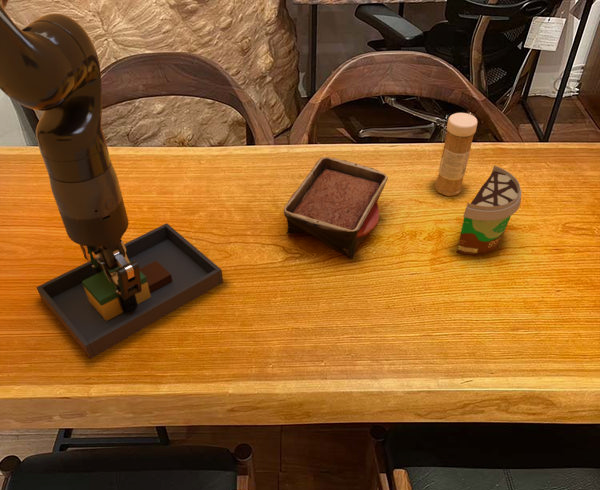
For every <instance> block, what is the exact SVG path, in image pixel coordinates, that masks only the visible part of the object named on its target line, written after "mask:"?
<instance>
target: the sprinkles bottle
mask: <svg viewBox="0 0 600 490" xmlns="http://www.w3.org/2000/svg"><path fill="white" fill-rule="evenodd" d="M477 127H478V119H477V117H475V116H474V115H472V114H471V113H467V112H455V113H453V114H451V115H449V117H448V119H447V125H446V135H445V138H444V145H443V149H442V155H441V157H440V162H439V167H438V175H437V179H436V183H435V190H436V191H437V192H438V193H439V194H441V195H443V196H448V197H452V196H456V195H458V194H460V193H461V191H462V185H463V180H464V177H465V176H466V175H465V174H466V170H467V167H468V162H469V157H470V153H471V149H472V143H473V139H474V136H475V134H476V132H477V129H478V128H477Z"/></svg>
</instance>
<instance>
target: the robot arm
mask: <svg viewBox="0 0 600 490" xmlns="http://www.w3.org/2000/svg"><path fill="white" fill-rule="evenodd" d="M9 2H10V1H9V0H0V90H1V92H3V93H4V94H5V96H7V97H9V98H10V99H11V100H12V101H14V102H16V103H18V104H19V105H21V106H23V107H25V108H28V109H31V110H34V111H41V112H43V113H42V115H41V117H40V119H39V121H38V122H37V125H36V128H35V138H36V142H37V145H38V148H39V152H40V154H41V158H42V161H43V163H44V166H45V169H46V172H47V174H48V178H49V184H50V185H49V186H50V189H51V192H52V195H53V198H54V201H55V203H56V206H57V210H58V213H59V215H60V218H61V221H62V223H63V227H64V229H65V232H66V235H67V236H68V238H69V239H70V241H72V242H73V243H75V244H77V245H79V247H80V250H81V252H82V254H83V258H84V259H85V260H86V262H89V261H90V262H91V267H92V268H93V269H94V270H95V271H96V274H98V273H100V272H103V274H104V276H105V278H106V279H107V280H108V281H110V282H112V285H113V287H114V289H115V293H116V294H117V298H118V301H119V304H120V307H121V310H122V311H123V312H124V313H127V312H129V311H131V310H133V309H134V308H136V307H137V305H138V304H137V300H136V296H135V294H137V293H139V292H141V291H142V288H141V279H140V270H139V265H138V263H137V262H136V261H133V262H131V263H130V262H129V260H128V257H127V255H126V248H125V245H124V244H125V243H124V241H123V240H122V238H123V236H124V235H125V233H126V232H127V230H128V227H129V223H130V222H129V218H128V213H127V208H126V206H125V201H124V197H123V193H122V190H121V186H120V182H119V178H118V175H117V172H116V170H115V168H114V165H113V163H112V160H111V156H110V152H109V149H108V145H107V144H108V143H107V141H106V137H105V133H104V130H103V124H102V121H103V119H102V118H103V96H102V95H103V93H102V91H103V90H102V74H101V65H100V61H99V55H98V52H97V50H96V47H95V44H94V42H93V41H92V39H91V37H90V35H89V34H88V32H87V31H86V30H85V29H84V27H83V26H82V25H81V24H80V23H79V22H78V21H76V20H75V19H73V18H71V17H70V16H67V15H65V14H63V13H54V12H53V13H48V14H44V15H42V16H40V17H38V18H36V19H35V20H33V21H32V22H30V23H29V24H28V25H26V26H25V27H23V28H20V27H19V26H18V25H17V24H16V23H15V22H14V20H13V19H12V18H11V17H10V15H9V14H8V13H7V11H6V10H5V9H6V7H7V5H8V3H9ZM117 267H119V269H117V270H116V271H114V272H112V273H110V272H109V270H113V269H115V268H117ZM117 280H118V281H119V284H118V281H117Z"/></svg>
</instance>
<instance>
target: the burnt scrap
mask: <svg viewBox="0 0 600 490" xmlns="http://www.w3.org/2000/svg"><path fill="white" fill-rule="evenodd" d="M139 270H140V271H141V272H142V273H143V274H144V275H145V276H146V279H147V283H148V287H149V291H150V293H152V292H154V291H156V290H158V289H160V288H162V287H163V286H165V285H167V284H169V283H171V282H172V277H171V274H170V273H169V272H168V271H167V270H166V269H165V268H164V267H163V266H162V265H160V264H159V263H158V262H157V261H154V262H152V263H150V264H148V265H146V266H144V267H142V268H141V269H139Z"/></svg>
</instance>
